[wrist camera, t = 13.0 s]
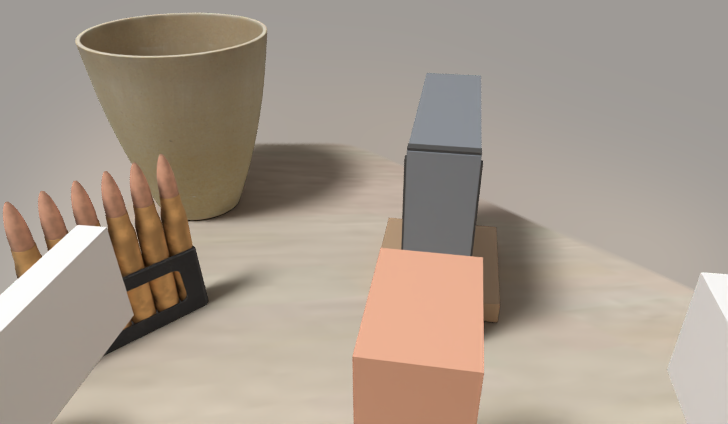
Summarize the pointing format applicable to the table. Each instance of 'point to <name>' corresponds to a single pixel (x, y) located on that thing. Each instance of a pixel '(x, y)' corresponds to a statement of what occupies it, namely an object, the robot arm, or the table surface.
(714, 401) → the robot arm
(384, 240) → the ticket block
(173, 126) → the plant pot
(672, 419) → the table surface
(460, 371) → the stub
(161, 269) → the ammunition clip
